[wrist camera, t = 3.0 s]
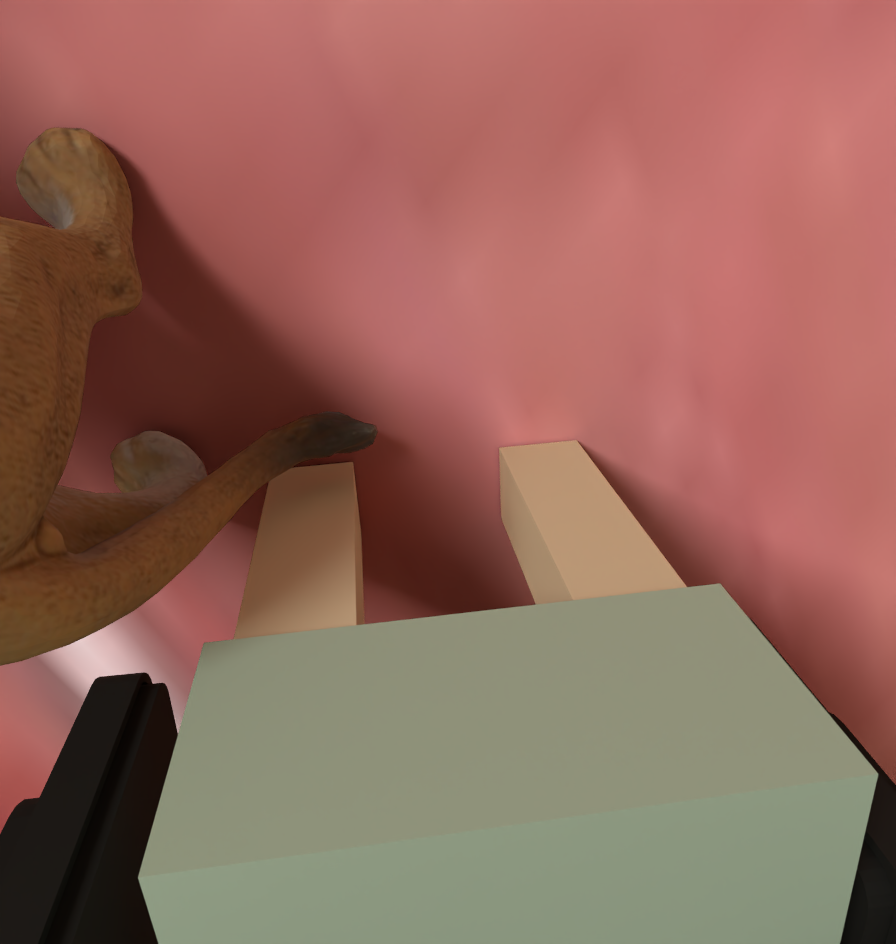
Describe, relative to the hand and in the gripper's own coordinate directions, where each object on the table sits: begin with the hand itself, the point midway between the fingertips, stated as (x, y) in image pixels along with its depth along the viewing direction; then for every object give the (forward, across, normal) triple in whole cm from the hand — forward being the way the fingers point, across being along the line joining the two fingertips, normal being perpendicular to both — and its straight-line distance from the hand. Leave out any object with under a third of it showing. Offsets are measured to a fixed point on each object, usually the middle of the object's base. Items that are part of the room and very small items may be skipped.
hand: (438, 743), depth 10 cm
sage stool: (+3, 0, +1) cm, 3 cm away
